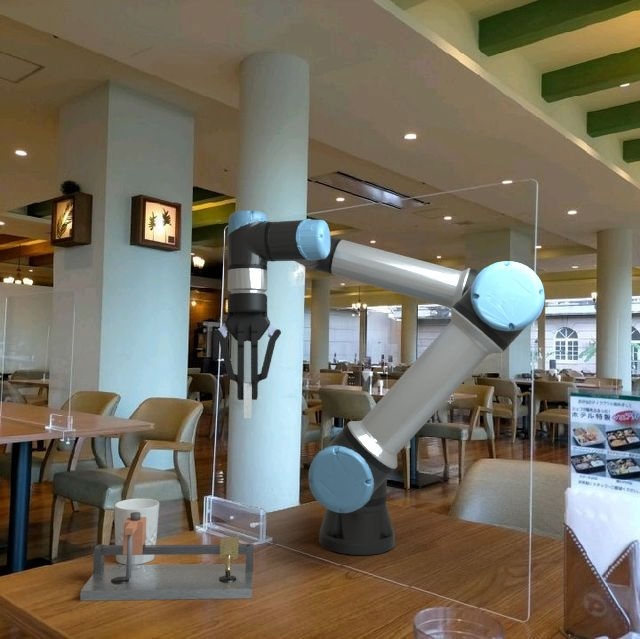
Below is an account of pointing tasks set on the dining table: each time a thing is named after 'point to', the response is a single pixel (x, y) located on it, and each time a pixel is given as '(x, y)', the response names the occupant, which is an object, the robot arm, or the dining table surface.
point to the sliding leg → (133, 538)
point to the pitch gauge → (173, 574)
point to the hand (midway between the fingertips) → (247, 417)
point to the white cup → (147, 509)
